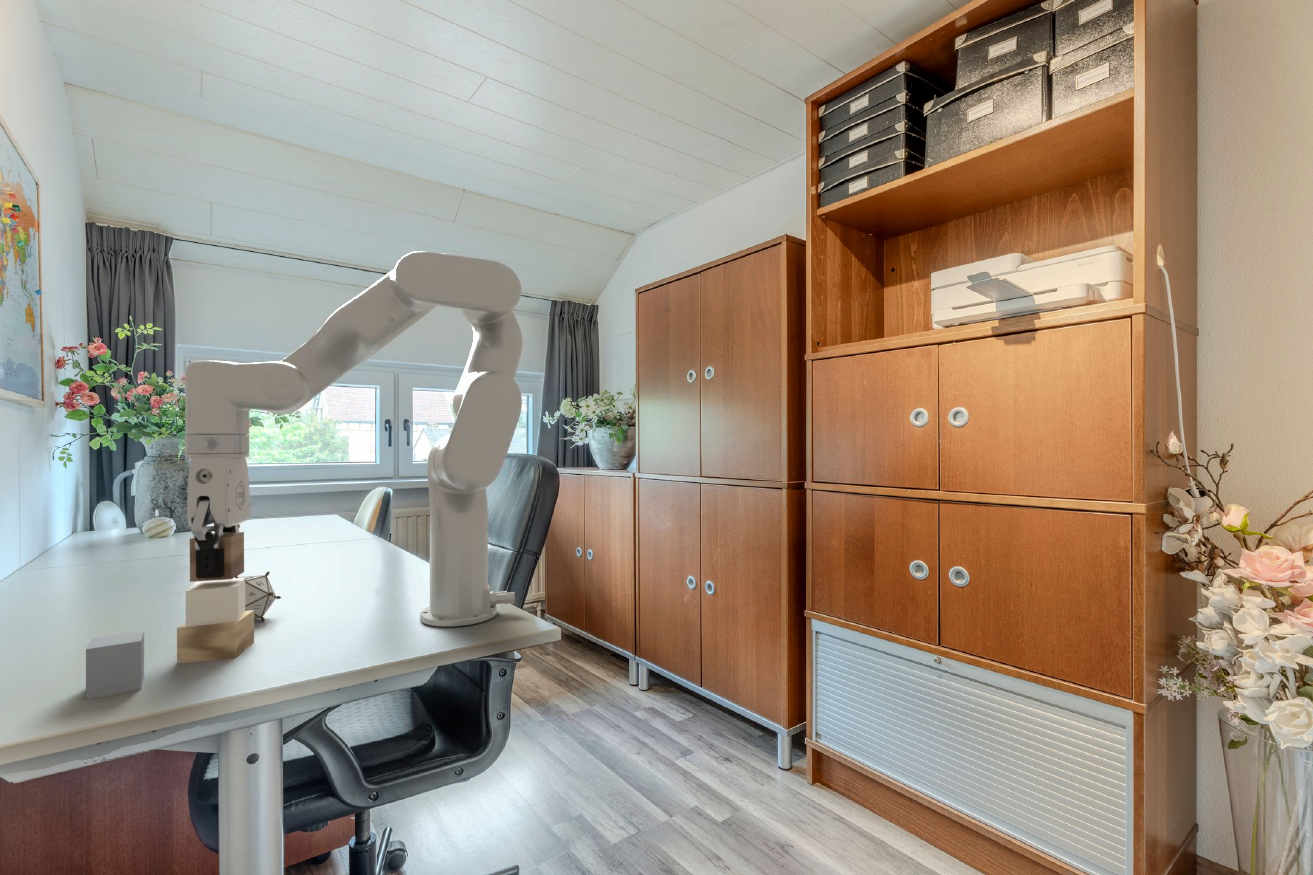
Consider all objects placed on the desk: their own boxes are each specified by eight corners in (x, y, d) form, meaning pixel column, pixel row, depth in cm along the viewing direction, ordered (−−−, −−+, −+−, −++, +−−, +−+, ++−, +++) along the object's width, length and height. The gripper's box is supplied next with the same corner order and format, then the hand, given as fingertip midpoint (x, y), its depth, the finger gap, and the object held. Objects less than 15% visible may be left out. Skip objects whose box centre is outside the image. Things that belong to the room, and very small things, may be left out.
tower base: (254, 643, 92) (254, 610, 92) (235, 659, 85) (235, 623, 85) (200, 647, 90) (200, 613, 90) (176, 664, 84) (176, 627, 84)
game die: (251, 645, 102) (239, 607, 96) (211, 624, 103) (197, 586, 97) (295, 607, 109) (286, 569, 103) (257, 588, 110) (246, 550, 105)
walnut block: (244, 571, 91) (243, 531, 91) (231, 579, 86) (231, 536, 86) (205, 574, 90) (204, 533, 90) (189, 581, 85) (189, 538, 85)
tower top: (245, 610, 92) (245, 577, 92) (237, 621, 87) (237, 586, 87) (196, 615, 89) (196, 581, 89) (185, 627, 84) (185, 590, 84)
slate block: (144, 676, 79) (144, 630, 79) (141, 689, 75) (141, 640, 75) (91, 686, 76) (91, 638, 76) (85, 700, 72) (85, 649, 72)
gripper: (225, 447, 81) (225, 584, 81) (266, 446, 97) (267, 560, 97) (157, 448, 79) (158, 589, 79) (212, 446, 95) (212, 563, 95)
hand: (218, 571), depth 88 cm, fingers closed on walnut block, 4 cm apart
